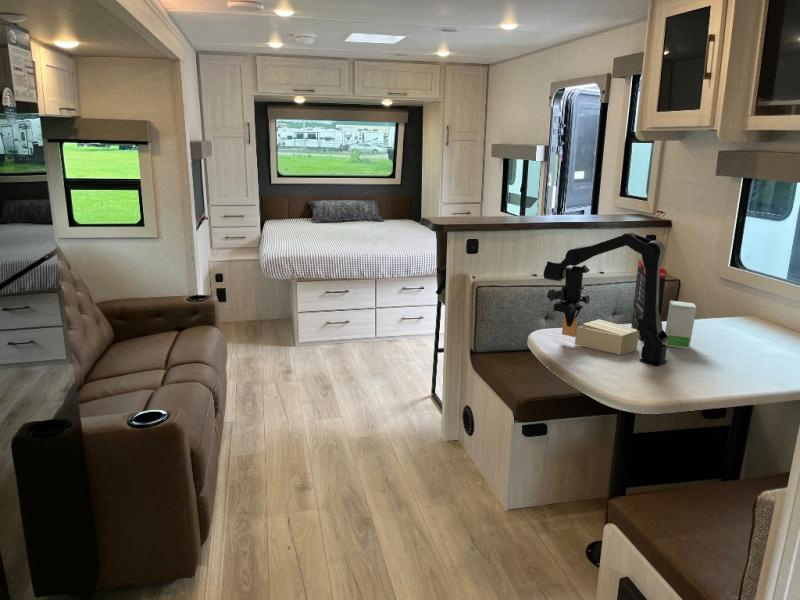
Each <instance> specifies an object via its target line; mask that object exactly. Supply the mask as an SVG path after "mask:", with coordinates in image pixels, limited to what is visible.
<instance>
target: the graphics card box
mask: <svg viewBox="0 0 800 600" xmlns="http://www.w3.org/2000/svg"><path fill="white" fill-rule="evenodd" d="M636 271H637V272H636V278H635V279H636V280H635V289H634V300H633V309H632V317H631V328H633V329H638V318H639V317H640V316H642V315H644V309H645V274H646V271H645V267H644V264H643V260H642V259H638V263H637V270H636ZM666 277H667V269H665V267H663V266H662V265H661V267H660V279H659V309H658V311H659V314H660V317H661V318H662V310H663V303H664V302H663V301H664V293H665V286H666ZM638 339H639V340H641V341H644V340H643V338H642V337H641V336H640V334H639V337H638Z"/></svg>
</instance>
